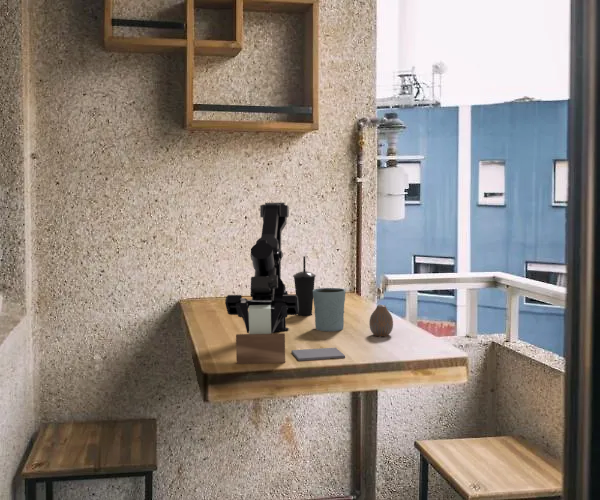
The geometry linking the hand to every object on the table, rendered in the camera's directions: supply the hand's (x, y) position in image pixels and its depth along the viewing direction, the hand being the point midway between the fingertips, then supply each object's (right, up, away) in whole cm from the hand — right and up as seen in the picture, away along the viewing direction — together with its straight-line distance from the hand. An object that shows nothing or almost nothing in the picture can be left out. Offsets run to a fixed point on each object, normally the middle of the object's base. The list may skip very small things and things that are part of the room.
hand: (259, 332), depth 170 cm
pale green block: (0, -7, +2) cm, 7 cm away
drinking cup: (+12, -2, +60) cm, 61 cm away
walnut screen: (0, -7, -3) cm, 8 cm away
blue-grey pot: (+19, -4, +37) cm, 42 cm away
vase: (+34, -4, +27) cm, 43 cm away
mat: (+15, -6, +4) cm, 17 cm away
